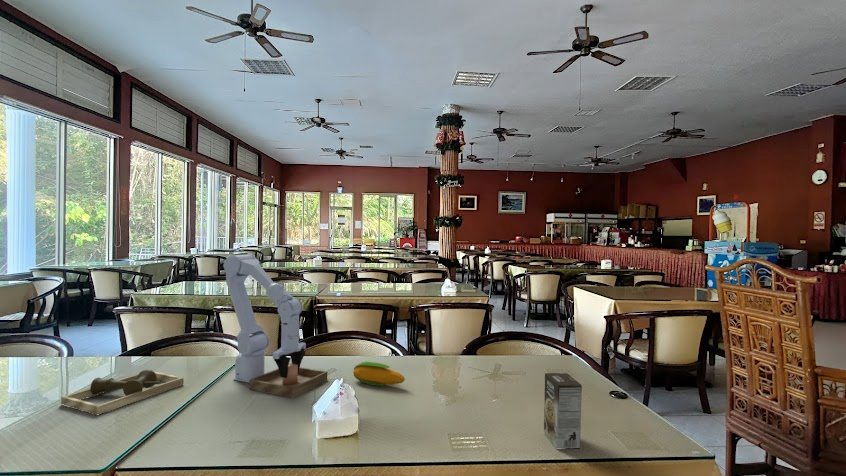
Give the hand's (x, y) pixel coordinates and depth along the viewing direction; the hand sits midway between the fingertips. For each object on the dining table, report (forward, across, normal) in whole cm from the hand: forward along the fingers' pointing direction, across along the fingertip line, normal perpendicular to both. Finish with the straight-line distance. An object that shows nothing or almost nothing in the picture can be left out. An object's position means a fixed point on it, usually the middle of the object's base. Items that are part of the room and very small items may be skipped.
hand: (289, 374), depth 150 cm
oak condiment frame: (+3, -29, +40) cm, 50 cm away
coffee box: (+4, -3, -89) cm, 89 cm away
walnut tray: (+3, 0, 0) cm, 3 cm away
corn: (+4, +13, -27) cm, 31 cm away
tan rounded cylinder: (+3, 0, 0) cm, 3 cm away
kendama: (+3, -29, +40) cm, 49 cm away
